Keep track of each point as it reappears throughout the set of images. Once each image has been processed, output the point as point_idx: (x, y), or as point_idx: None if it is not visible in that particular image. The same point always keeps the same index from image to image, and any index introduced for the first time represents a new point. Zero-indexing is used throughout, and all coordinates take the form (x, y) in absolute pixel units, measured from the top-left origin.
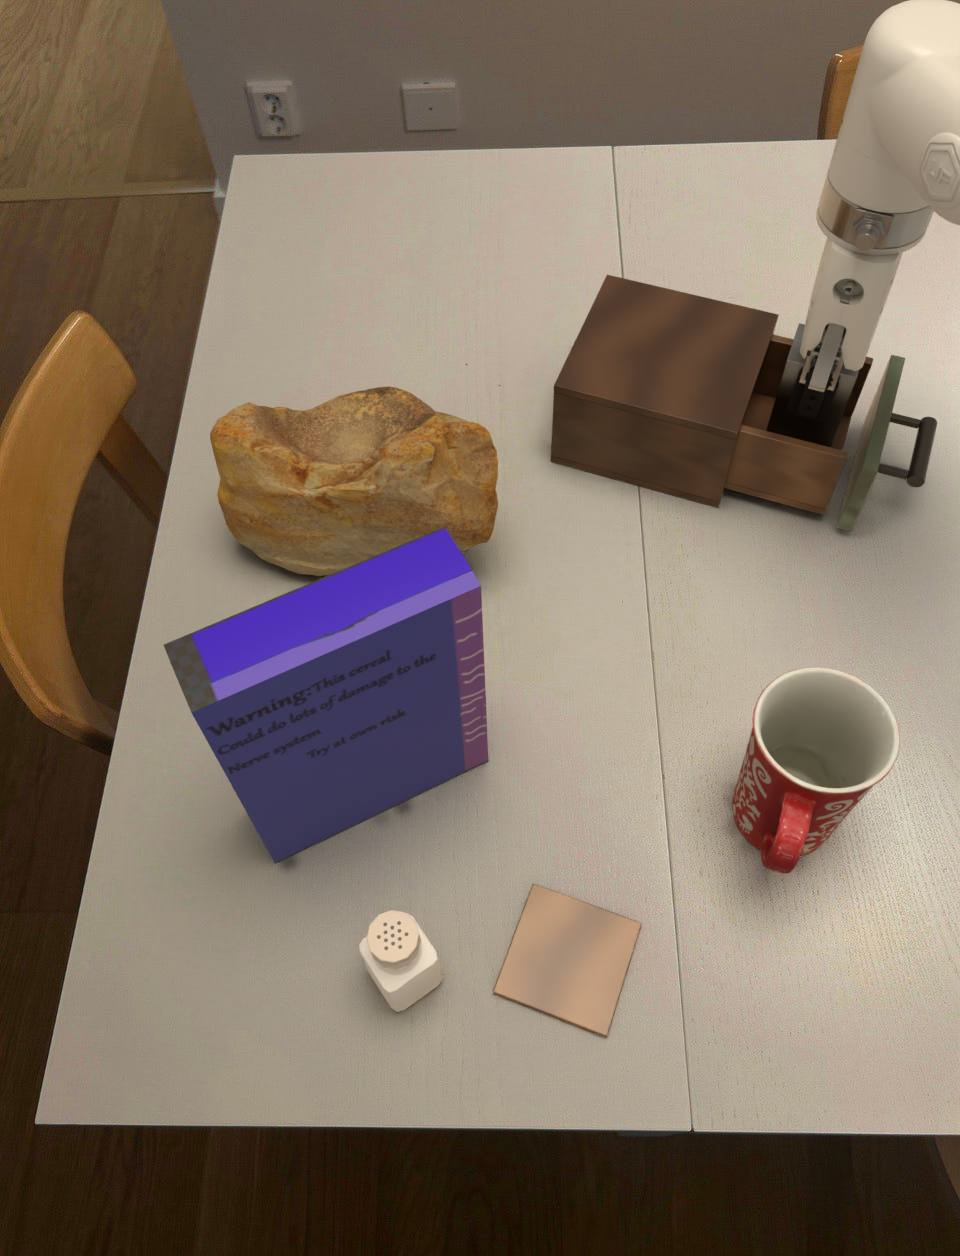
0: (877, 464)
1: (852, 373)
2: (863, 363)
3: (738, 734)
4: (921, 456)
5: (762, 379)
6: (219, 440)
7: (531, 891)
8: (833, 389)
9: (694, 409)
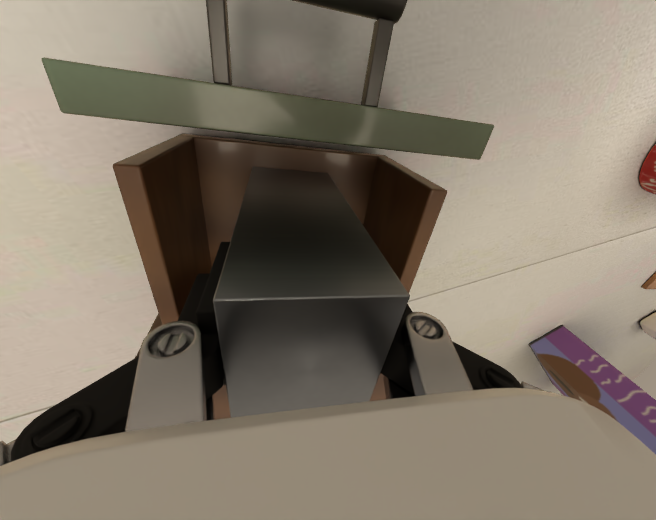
0: (476, 126)
1: (397, 309)
2: (638, 442)
3: (601, 196)
4: None
5: None
6: None
7: (649, 288)
8: (444, 326)
9: (384, 390)
